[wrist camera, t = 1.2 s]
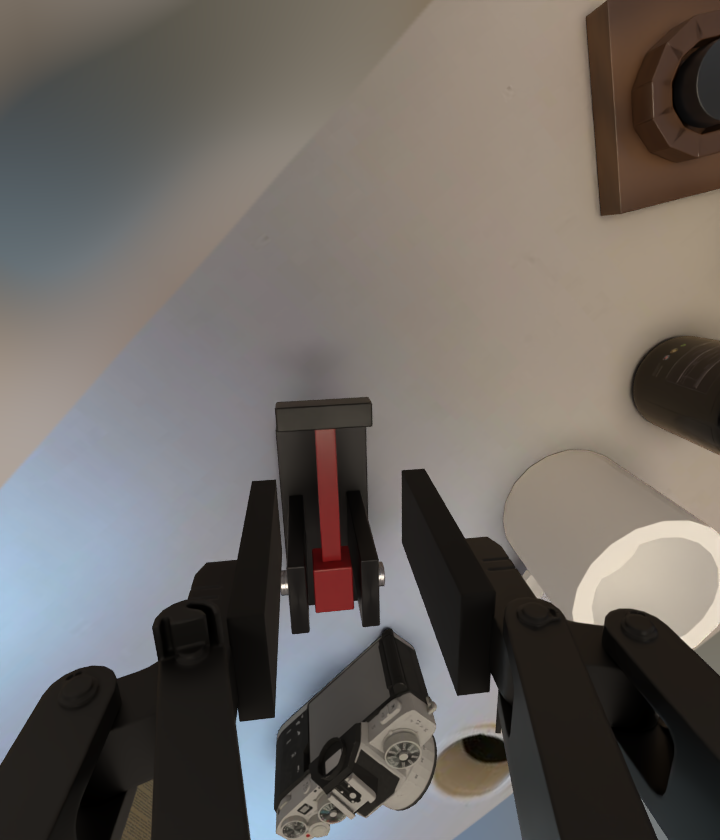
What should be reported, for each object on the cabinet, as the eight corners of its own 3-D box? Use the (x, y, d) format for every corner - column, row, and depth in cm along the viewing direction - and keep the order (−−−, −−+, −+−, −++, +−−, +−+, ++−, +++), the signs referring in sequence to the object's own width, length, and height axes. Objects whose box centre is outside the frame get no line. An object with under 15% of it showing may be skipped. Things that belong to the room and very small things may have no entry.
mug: (554, 615, 43) (632, 726, 33) (454, 571, 41) (506, 676, 31) (654, 483, 40) (772, 561, 30) (553, 426, 38) (646, 491, 28)
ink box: (73, 740, 42) (21, 856, 34) (111, 716, 41) (67, 828, 33) (158, 808, 45) (129, 928, 37) (194, 786, 45) (172, 903, 37)
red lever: (276, 399, 28) (274, 411, 26) (367, 394, 29) (373, 405, 26) (291, 590, 32) (290, 615, 29) (372, 583, 32) (378, 607, 30)
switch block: (585, 16, 30) (627, -17, 26) (732, -19, 30) (794, -57, 26) (600, 215, 34) (639, 211, 30) (731, 182, 34) (786, 173, 30)
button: (672, 53, 28) (695, 41, 26) (742, 36, 28) (770, 23, 26) (674, 135, 29) (697, 129, 27) (741, 119, 29) (768, 111, 28)
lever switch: (276, 424, 35) (269, 486, 26) (363, 419, 36) (386, 478, 27) (290, 597, 40) (288, 702, 31) (367, 589, 40) (389, 690, 31)
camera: (331, 779, 46) (340, 915, 37) (254, 733, 44) (242, 866, 34) (457, 670, 44) (501, 785, 35) (384, 614, 41) (410, 722, 32)
